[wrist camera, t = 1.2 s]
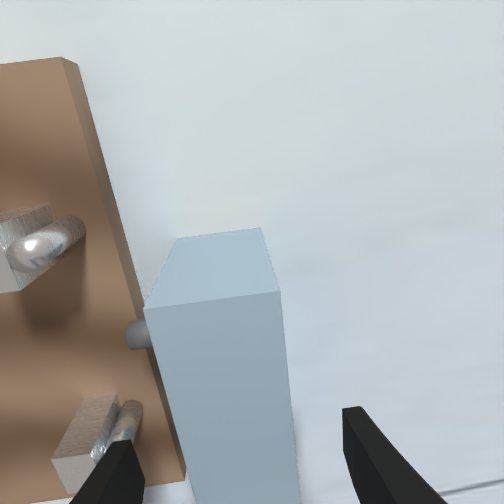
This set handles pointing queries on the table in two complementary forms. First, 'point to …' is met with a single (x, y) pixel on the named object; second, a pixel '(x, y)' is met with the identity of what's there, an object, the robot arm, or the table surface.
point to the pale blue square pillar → (224, 367)
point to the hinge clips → (19, 276)
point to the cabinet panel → (68, 293)
